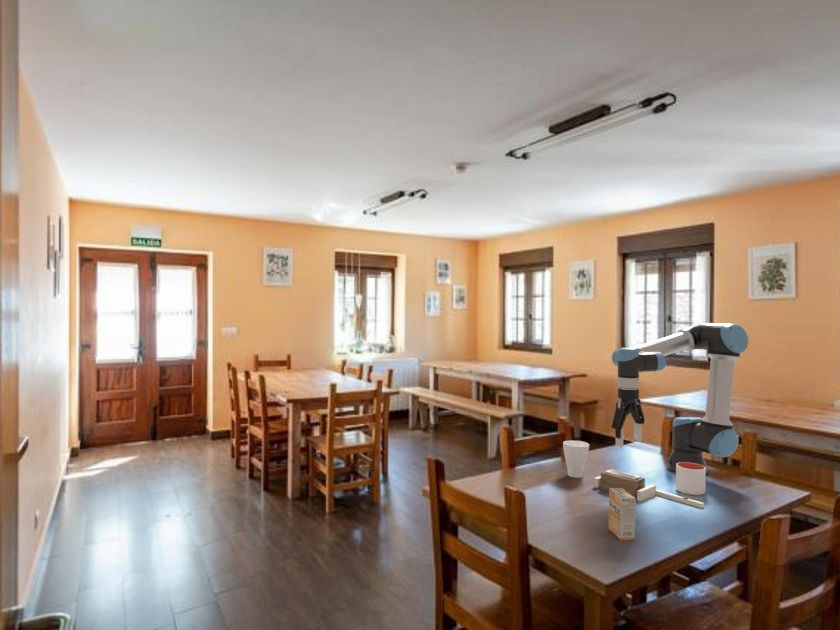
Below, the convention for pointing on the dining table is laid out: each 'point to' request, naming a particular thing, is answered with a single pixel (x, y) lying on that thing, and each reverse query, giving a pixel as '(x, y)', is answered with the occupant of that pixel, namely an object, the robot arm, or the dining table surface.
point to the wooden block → (622, 481)
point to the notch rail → (652, 491)
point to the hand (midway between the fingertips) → (628, 443)
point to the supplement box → (622, 513)
